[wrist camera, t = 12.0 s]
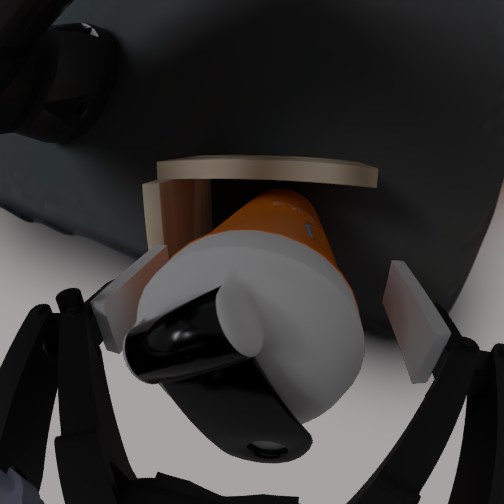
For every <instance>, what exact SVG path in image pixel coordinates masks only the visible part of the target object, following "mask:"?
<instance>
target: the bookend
mask: <svg viewBox="0 0 504 504" xmlns="http://www.w3.org/2000/svg"><path fill="white" fill-rule="evenodd" d="M157 179H158V180H154V181H151V182H148V183H145V184H142V187H143V201H144V213H145V223H146V232H147V241H148V249H149V250H150V249H151V248H153V247H154V246H155V245H167V248H168V256H169V260H170V259H171V258H172V256H173V255H174V254H175V253H177V252H178V251H179V250H180V249H182V248H183V247H184V246H186V245H187V244H188V243H190V242H192V241H194V240H196V239H198V238H200V237H203V236H205V235H207V234H209V233H211V232H212V201H211V179H261V180H285V181H303V182H317V183H330V184H342V185H353V186H363V187H372V188H377V179H378V168H375V167H372V166H369V165H366V164H362V163H359V162H356V161H349V160H338V159H327V158H313V157H297V156H274V155H200V156H191V157H185V158H178V159H171V160H165V161H159V162H157Z"/></svg>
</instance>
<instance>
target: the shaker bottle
mask: <svg viewBox="0 0 504 504" xmlns="http://www.w3.org/2000/svg"><path fill="white" fill-rule="evenodd" d="M364 353H365V349H364V332H363V328H362V324H361V320H360V316H359V309H358V305H357V302H356V299H355V296H354V293H353V290H352V288H351V287H350V285H349V284H348V282H347V280H346V279H345V277H344V276H343V274H342V273H341V271H340V270H339V269H338V267H337V264H336V261H335V258H334V256H333V253H332V251H331V248H330V245H329V243H328V240H327V238H326V235H325V232H324V230H323V227H322V225H321V222H320V220H319V218H318V215H317V213H316V210H315V208H314V207H313V205H312V204H311V203H310V202H309V201H308V200H307V199H306V198H305V197H304V196H302V195H301V194H299V193H297V192H295V191H292V190H288V189H272V190H267V191H265V192H263V193H261V194H259V195H258V196H256V197H255V198H254V199H252V200H251V201H250V202H249V203H247V204H246V205H245V206H243V207H242V208H241V209H240V210H238V211H237V212H236V213H234V214H233V215H232V216H231V217H229V218H228V219H227V220H226V221H224V222H223V223H222V224H221V225H219V226H218V227H217V228H216V229H214V230H213V231H212V232H211V233H209V234H207V235H205V236H203V237H200V238H198V239H196V240H194V241H192V242H190V243H188V244H187V245H186V246H184V247H183V248H182V249H180V250H179V251H178V252H177V253H175V254H174V255H173V256H172V258H171V259H170V260H169V261H168V262H167V263H166V264H165V265H164V266H163V267H162V268H161V269H160V270H159V271H158V272H156V273H155V275H154V276H153V277H152V279H151V280H150V281H149V283H148V284H147V286H146V287H145V288H144V291H143V293H142V296H141V298H140V301H139V304H138V311H137V322H136V324H135V325H134V326H133V327H132V328H131V330H130V331H129V332H128V333H127V334H126V335H125V338H124V341H123V356H124V360H125V362H126V364H127V367H128V368H129V369H130V371H131V373H132V374H133V375H134V376H135V377H136V378H138V379H139V380H141V381H142V382H145V383H149V384H157V383H158V384H159V385H160V386H161V387H162V388H163V389H164V391H165V392H166V393H167V394H168V395H169V396H170V397H171V398H172V399H173V400H174V402H175V403H176V404H177V405H178V407H179V408H180V409H181V410H182V412H183V413H184V414H185V415H186V416H187V417H188V419H189V420H190V421H191V422H192V423H193V424H194V425H195V426H196V427H197V428H198V429H199V430H200V431H201V432H202V433H203V434H204V435H205V436H206V437H207V438H208V439H209V440H210V441H212V442H213V443H214V444H215V445H216V446H217V447H219V448H220V449H221V450H222V451H224V452H226V453H228V454H230V455H232V456H235V457H238V458H241V459H244V460H250V461H254V462H260V463H283V462H289V461H292V460H295V459H297V458H299V457H301V456H302V455H304V454H305V453H306V452H307V451H308V450H309V449H310V447H311V444H312V441H313V440H312V437H311V435H310V433H308V431H307V430H306V429H305V428H304V427H303V426H302V424H303V423H305V422H308V421H310V420H312V419H314V418H316V417H318V416H320V415H321V414H323V413H324V412H326V411H327V410H328V409H330V408H331V407H332V406H333V405H334V404H335V403H336V402H337V401H338V400H339V398H341V397H342V395H343V394H344V393H345V392H346V391H347V390H348V389H349V387H350V386H351V385H352V384H353V382H354V380H355V379H356V377H357V375H358V373H359V371H360V369H361V365H362V361H363V357H364Z"/></svg>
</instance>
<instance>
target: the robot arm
mask: <svg viewBox="0 0 504 504" xmlns="http://www.w3.org/2000/svg"><path fill="white" fill-rule="evenodd" d="M73 1H74V0H0V134H6V133H17V134H20V135H23V136H26V137H29V138H33V139H36V140H39V141H42V142H46V143H57V142H65V141H69V140H72V139H74V138H76V137H78V136H79V135H81V134H82V133H83V132H85V131H86V130H87V129H88V128H89V127H90V126H91V125H92V123H93V122H94V121H95V120H96V118H97V117H98V115H99V114H100V112H101V111H102V109H103V107H104V105H105V103H106V101H107V99H108V97H109V94H110V92H111V89H112V86H113V82H114V78H115V73H116V66H117V54H116V47H115V44H114V41H113V39H112V37H111V36H110V34H109V33H108V32H107V31H105V30H104V29H102V28H99V27H97V26H94V25H92V24H88V23H71V24H61V25H53V26H51V25H52V24H53V22H54V21H55V20H56V19H57V18H58V17H59V16H60V15H61V13H62V12H63V11H64V10H65V9H66V8H67V7H68V6H69V5H70V4H71V3H72V2H73ZM168 261H169V256H168V248H167V245H155V246H154V247H153V248H151V249H150V250H149V251H148V252H147V253H145V254H144V255H143V256H142V257H141V258H139V259H138V260H137V261H136V262H135V263H133V264H132V265H131V266H130V267H129V268H128V269H126V270H125V271H124V272H123V273H122V274H121V275H119V276H118V277H117V278H116V279H114V280H112V281H110V282H108V283H106V284H105V285H104V286H103V287H101V289H99V290H98V291H97V292H96V293H95V294H94V295H92V296H91V297H90V298H89V299H88V300H87V301H86V302H85V303H84V301H83V298H82V295H81V291H80V290H79V289H77V288H69V289H66V290H63V291H62V292H60V293H59V294H58V295H57V296H56V301H57V304H58V307H59V310H60V313H52V310H51V308H50V306H49V305H48V304H39V305H36V306H35V307H34V308H32V309H31V310H30V312H29V313H28V315H27V317H26V319H25V320H24V322H23V324H22V326H21V328H20V329H19V331H18V333H17V335H16V337H15V339H14V341H13V342H12V345H11V347H10V348H9V350H8V352H7V354H6V357H5V359H4V361H3V363H2V365H1V367H0V504H44V502H43V500H41V499H40V495H39V490H40V486H41V482H42V477H43V470H44V461H45V453H46V445H47V439H48V432H49V427H50V420H51V416H52V411H53V406H54V401H55V397H56V393H57V389H58V398H59V414H60V425H61V436H57V437H56V438H55V441H54V445H55V453H56V460H57V466H58V472H59V478H60V483H61V488H62V493H63V497H64V501H65V504H299V503H298V499H299V497H291V496H276V495H265V494H261V495H249V496H231V497H230V496H229V497H225V496H221V495H218V494H216V493H213V492H211V491H209V490H207V489H205V488H203V487H201V486H199V485H197V484H194V483H192V482H190V481H187V480H184V479H180V478H177V477H173V476H169V475H166V474H163V473H160V472H157V475H156V477H155V478H139V479H137V477H136V475H135V474H134V472H133V470H132V468H131V466H130V464H129V461H128V458H127V455H126V452H125V449H124V446H123V443H122V440H121V436H120V433H119V430H118V426H117V422H116V419H115V415H114V411H113V407H112V403H111V399H110V394H109V390H108V385H107V380H106V375H105V370H104V365H103V358H102V352H101V349H100V347H99V345H100V344H101V342H102V341H104V344H105V346H106V349H107V350H108V351H112V352H115V353H118V354H120V352H121V351H122V350H123V341H124V338H125V335H126V334H127V333H128V332H129V331H130V330H131V328H132V327H133V326H134V325H135V324H136V322H137V311H138V304H139V301H140V298H141V296H142V293H143V291H144V288H145V287H146V286H147V284H148V283H149V281H150V280H151V279H152V277H153V276H154V275H155V273H156V272H158V271H159V270H160V269H161V268H162V267H163V266H164V265H165V264H166V263H167V262H168ZM382 303H383V306H384V308H385V310H386V313H387V315H388V318H389V320H390V323H391V326H392V328H393V331H394V333H395V336H396V339H397V341H398V344H399V347H400V349H401V352H402V355H403V358H404V361H405V364H406V367H407V370H408V372H409V376H410V379H411V382H412V384H414V383H426V382H427V381H428V378H429V377H430V375H431V373H433V376H434V378H435V380H434V381H433V383H432V385H431V387H430V388H429V390H428V392H427V393H426V395H425V398H424V400H423V402H422V403H421V405H420V407H419V408H418V410H417V412H416V413H415V415H414V417H413V419H412V420H411V422H410V423H409V425H408V426H407V428H406V430H405V431H404V432H403V434H402V436H401V437H400V438H399V440H398V441H397V443H396V444H395V446H394V447H393V448H392V450H391V451H390V453H389V454H388V455H387V457H386V458H385V459H384V461H383V462H382V463H381V464H380V466H379V467H378V468H377V470H376V471H375V472H374V473H373V475H372V476H371V477H370V478H369V479H368V481H367V482H366V483H365V484H364V485H363V486H362V488H361V489H360V490H359V491H358V492H357V493H356V494H355V495H354V496H353V498H351V500H350V501H349V502H348V503H347V504H418V502H419V500H420V498H421V496H420V495H419V493H420V491H421V489H422V487H423V486H424V484H425V483H426V481H427V479H428V477H429V476H430V474H431V472H432V471H433V469H434V467H435V465H436V463H437V462H438V460H439V458H440V456H441V454H442V452H443V450H444V448H445V446H446V444H447V442H448V440H449V437H450V435H451V433H452V431H453V428H454V426H455V424H456V421H457V419H458V417H459V414H460V412H461V409H462V406H463V404H464V401H465V398H466V395H467V404H466V417H465V425H464V433H463V440H462V446H461V452H460V457H459V462H458V467H457V472H456V476H455V480H454V484H453V488H452V492H451V495H450V499H449V502H448V504H504V344H500V343H498V344H495V345H494V347H493V349H492V350H491V352H487V351H481V350H479V346H478V344H476V342H475V341H473V340H472V339H470V338H467V337H462V336H461V334H460V332H459V331H458V329H457V327H456V326H455V324H454V323H453V322H452V320H451V318H450V317H449V315H448V313H447V312H446V310H445V309H444V308H443V307H441V306H440V305H439V304H438V303H432V301H431V300H430V298H429V297H428V295H427V294H426V292H425V291H424V289H423V288H422V286H421V285H420V283H419V282H418V280H417V279H416V278H415V276H414V275H413V273H412V272H411V271H410V269H409V268H408V266H407V265H406V264H405V262H404V261H396V260H392V261H391V266H390V271H389V275H388V280H387V284H386V288H385V292H384V296H383V300H382Z"/></svg>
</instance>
